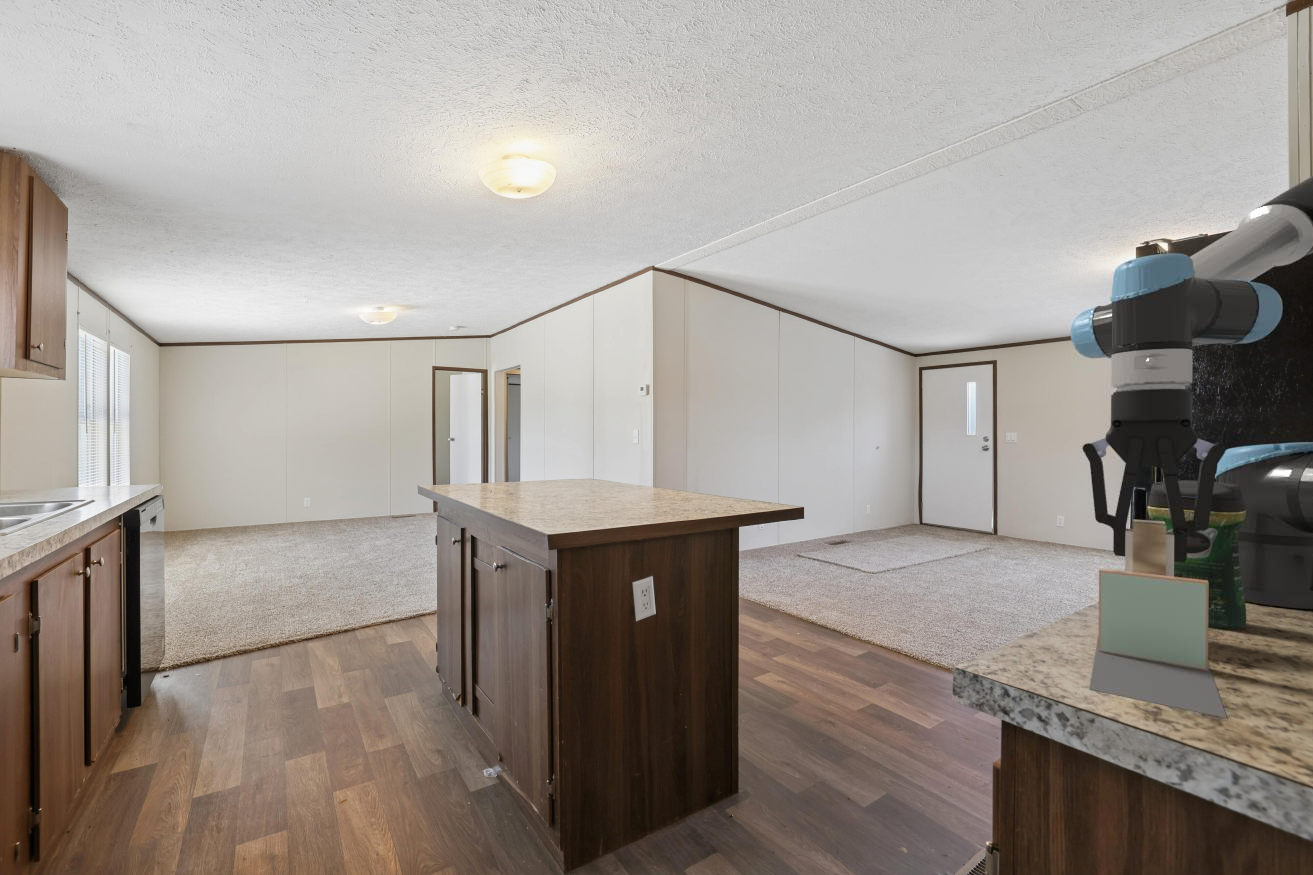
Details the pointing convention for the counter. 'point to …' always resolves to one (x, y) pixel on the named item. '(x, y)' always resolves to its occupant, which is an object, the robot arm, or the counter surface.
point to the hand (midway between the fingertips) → (1148, 585)
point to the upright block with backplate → (1149, 547)
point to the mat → (1156, 683)
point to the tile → (1154, 618)
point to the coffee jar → (1210, 548)
